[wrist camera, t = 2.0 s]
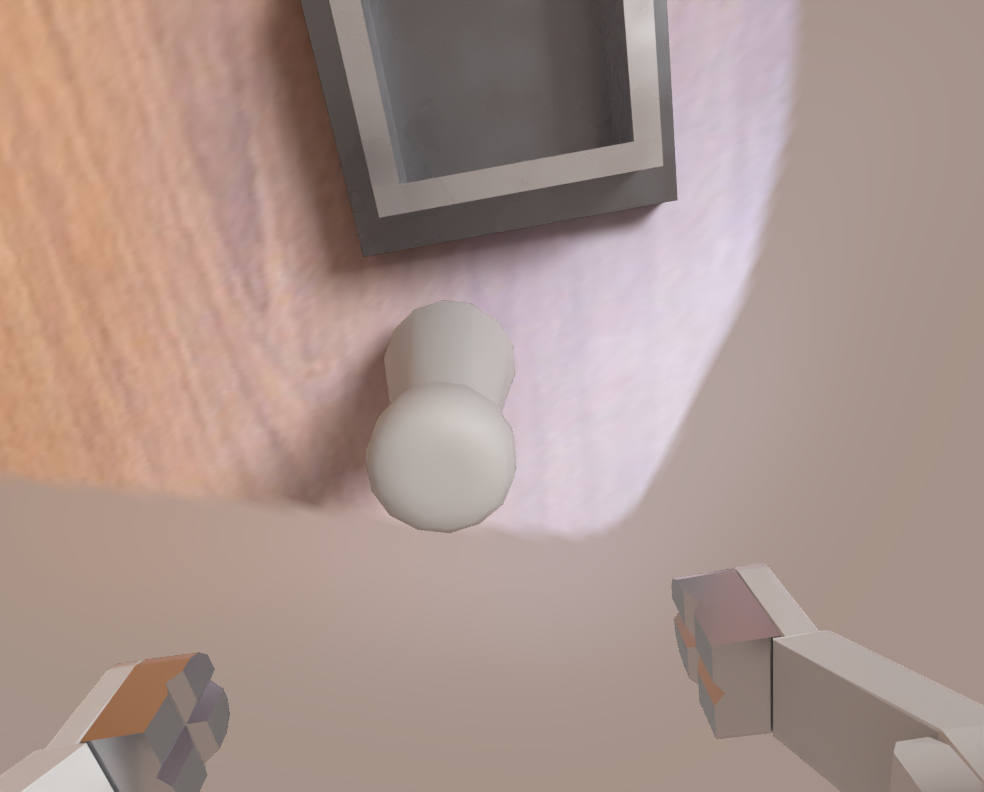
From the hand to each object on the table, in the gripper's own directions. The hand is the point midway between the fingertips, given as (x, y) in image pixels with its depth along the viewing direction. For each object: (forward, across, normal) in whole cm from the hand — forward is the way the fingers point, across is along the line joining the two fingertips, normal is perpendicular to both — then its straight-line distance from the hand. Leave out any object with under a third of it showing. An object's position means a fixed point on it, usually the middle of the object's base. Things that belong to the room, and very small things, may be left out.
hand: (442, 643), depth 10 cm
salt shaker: (+19, +1, 0) cm, 19 cm away
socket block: (+19, -3, -12) cm, 23 cm away
